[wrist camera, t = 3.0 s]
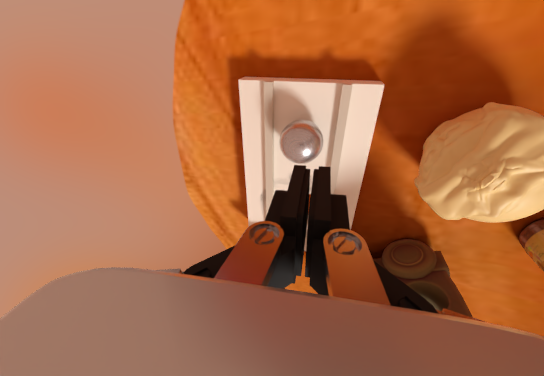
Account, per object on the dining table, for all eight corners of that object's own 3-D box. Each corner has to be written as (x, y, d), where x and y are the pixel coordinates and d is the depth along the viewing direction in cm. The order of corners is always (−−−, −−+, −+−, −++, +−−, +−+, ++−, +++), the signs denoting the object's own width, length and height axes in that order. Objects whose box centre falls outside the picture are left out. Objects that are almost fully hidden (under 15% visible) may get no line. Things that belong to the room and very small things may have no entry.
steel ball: (284, 112, 29) (275, 125, 25) (326, 115, 28) (325, 129, 24) (283, 151, 31) (275, 169, 27) (321, 155, 31) (319, 173, 26)
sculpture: (459, 77, 25) (526, 99, 16) (557, 127, 26) (673, 176, 17) (388, 163, 32) (408, 212, 23) (467, 202, 32) (517, 265, 23)
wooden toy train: (440, 228, 35) (506, 351, 22) (448, 279, 40) (507, 407, 26) (310, 248, 43) (299, 347, 29) (330, 289, 48) (328, 391, 34)
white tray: (245, 76, 30) (232, 82, 26) (381, 80, 27) (388, 88, 23) (253, 223, 43) (245, 241, 39) (345, 237, 40) (346, 258, 36)
